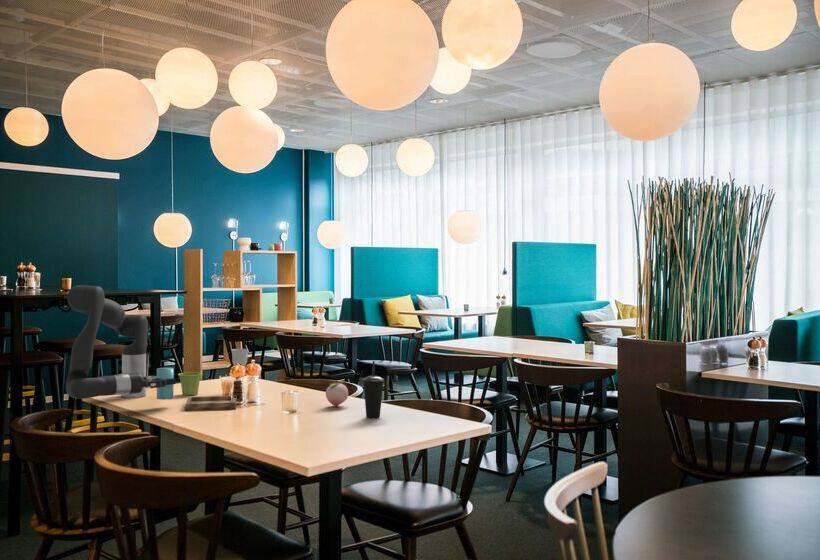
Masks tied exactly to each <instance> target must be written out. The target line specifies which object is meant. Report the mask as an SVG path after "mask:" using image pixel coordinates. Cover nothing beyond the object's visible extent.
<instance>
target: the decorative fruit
mask: <svg viewBox="0 0 820 560" xmlns="http://www.w3.org/2000/svg"><path fill="white" fill-rule="evenodd" d="M325 397H326V399H327V401H328V402H329V404H330V405H333V406H334V407H338V406H340V405H342V404H343V403H344V402H346V400H347V399H348V397H349V390H348V388H347V386H346V385H345V384H343V383H342V382H338V380H336V381H335V383H330V385H329V386H328V387H326V390H325Z"/></svg>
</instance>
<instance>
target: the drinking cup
mask: <svg viewBox="0 0 820 560" xmlns="http://www.w3.org/2000/svg"><path fill="white" fill-rule="evenodd" d="M375 363H376V362H375V361H374V360H373V361H372V375H368V376H366V377H365V378H362V381H363V391H364V404H365V407H364V408H365V417H366V418H367V419H372V418H374V419H380V418H381V409H382V398H383V390H384V381H385V378H383V377H381V376H378V375H375V365H376V364H375ZM379 417H380V418H379Z"/></svg>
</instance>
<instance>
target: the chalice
mask: <svg viewBox="0 0 820 560" xmlns="http://www.w3.org/2000/svg"><path fill="white" fill-rule="evenodd" d="M230 350H231V352H232V354H231V355H232V356H231V358H232V360H231V361H232V365H233V366H234V365H236V364H237V363H240V364H241V365H242V366H245V367H246V365H247V363H248V351H249V349H248V348H233V349H230Z"/></svg>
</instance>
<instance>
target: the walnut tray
mask: <svg viewBox="0 0 820 560" xmlns="http://www.w3.org/2000/svg"><path fill="white" fill-rule="evenodd" d="M231 396H232V395H211V396H210V395H209V396H208V395H207V396H206V395H205V396H202V395H200V396H188V397H187V400H186V401H185V402H186V403H185V411H220V410H221V411H223V410H236V409H237V408H236V407H237V397H236V398H234V397H233V402H232V401H231Z"/></svg>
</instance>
